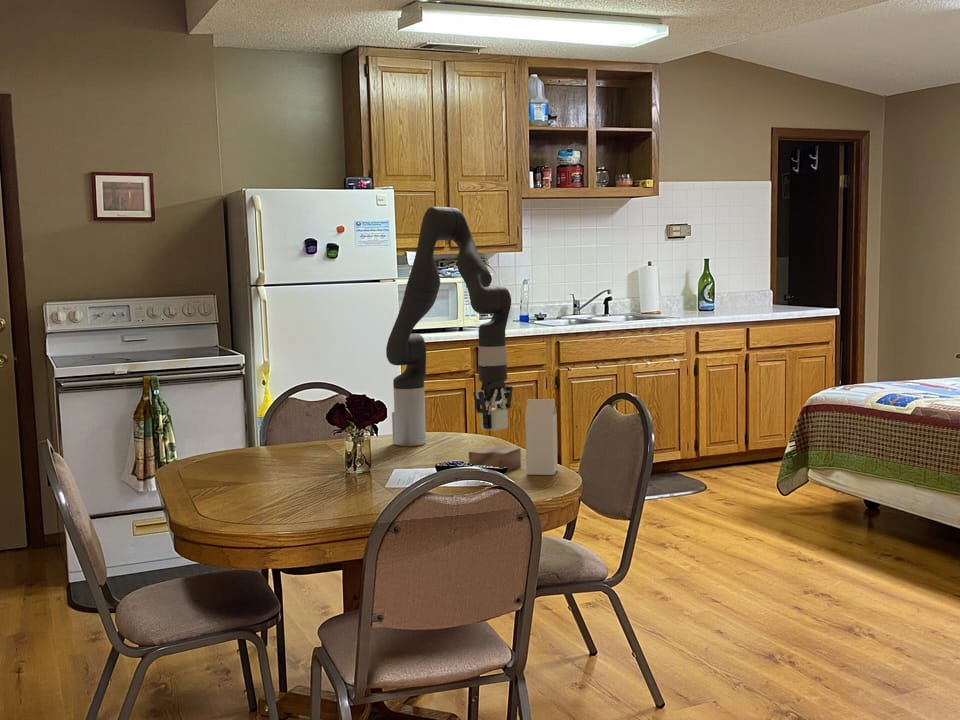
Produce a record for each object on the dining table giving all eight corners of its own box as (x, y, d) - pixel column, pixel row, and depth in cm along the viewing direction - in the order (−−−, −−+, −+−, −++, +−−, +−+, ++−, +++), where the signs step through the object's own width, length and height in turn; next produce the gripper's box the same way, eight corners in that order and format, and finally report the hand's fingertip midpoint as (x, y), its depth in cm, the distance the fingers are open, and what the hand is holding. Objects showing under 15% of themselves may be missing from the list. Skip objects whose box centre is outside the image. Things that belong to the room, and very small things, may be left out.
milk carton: (554, 475, 254) (552, 401, 252) (526, 475, 256) (524, 401, 254) (557, 469, 261) (556, 397, 259) (530, 469, 263) (529, 397, 261)
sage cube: (481, 429, 264) (480, 410, 264) (492, 426, 268) (492, 408, 268) (496, 430, 261) (495, 411, 261) (507, 428, 265) (507, 409, 265)
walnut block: (469, 470, 264) (468, 451, 264) (488, 463, 273) (488, 445, 272) (502, 474, 259) (501, 454, 259) (520, 466, 268) (520, 448, 267)
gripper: (498, 359, 271) (499, 422, 273) (464, 365, 260) (465, 429, 262) (520, 361, 266) (522, 424, 268) (486, 366, 255) (488, 432, 257)
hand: (494, 426), depth 265 cm, fingers closed on sage cube, 5 cm apart
